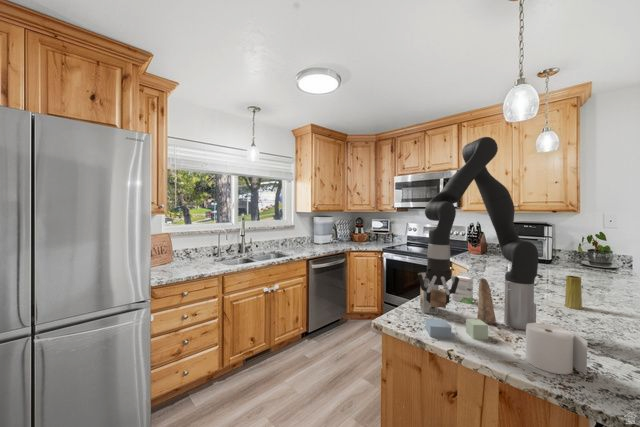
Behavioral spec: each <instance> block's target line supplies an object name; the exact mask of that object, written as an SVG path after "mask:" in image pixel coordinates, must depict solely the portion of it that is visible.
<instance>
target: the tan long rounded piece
mask: <svg viewBox="0 0 640 427" xmlns="http://www.w3.org/2000/svg"><path fill="white" fill-rule="evenodd" d="M477 303H478V305H477V309H478V310H477V315H476V316H477V317H476V318H477V319H480V320H482V321H483V322H484V323H486V324H487V325H495V324H497V318H496V313H495V310H494V304H493V299H492V294H491V288H490V285H489V283H488V280H487V279H485V278H483V277H482V278H480V280H479V283H478V302H477Z"/></svg>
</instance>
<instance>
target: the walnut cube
mask: <svg viewBox="0 0 640 427" xmlns="http://www.w3.org/2000/svg"><path fill="white" fill-rule="evenodd" d="M430 293H431V297H430V306H432V307H438V308H441V309H442V308H443V309H447V305H446V293H445V290H444V289H439V288H438V289H431V291H430Z"/></svg>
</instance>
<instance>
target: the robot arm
mask: <svg viewBox="0 0 640 427" xmlns="http://www.w3.org/2000/svg"><path fill="white" fill-rule="evenodd" d="M498 148H499V147H498V144H497V142H496V140H495V139H494V138H492V137H489V136H483V137H480V138H478V139H475V140H472V141H471V142H469V143H467V144H466V145H464V146H463V147H462V151H461V153H462V154H461V155H462V159H463V162H464V163H465V164H463V166H462V167H461V168H459V169H458V170H457V171H456V172H455V173H454V174H453V175H451V177H450V178H449V179H448V181H447V182H446V184H445V185H444V186H443V188H442V190H441V191H440V192H438V193H437V194H435V195H434V197H433V198H432V199H430V200H429V201H428V202H427V204H426V205H425V208H424V215H425V217H426V218H427V219H428V220H430V221H433V222H434V221H436V222H437V226H436V227H431V228H430V229H429V231H428V244H427V246H428V247H427V254H426V255H427V258H426V259H427V261H426V263H427V264H426V271H425V272H426V273H422V274H421V272H419V273H417V275H418V279H419V284H420V286H421V287H420V288H421V289H422V290H423V291H426V300H427V301H428V303H430V297H431V293H430V291H431V289H432V287H433V285H438V286H443V290H445V293H446V306H448V304H450V295H452V293H453V294H454V293H455V292H456V289H457V285H458V282H459V278H458V277H457V276H458V275H457V276H455V275H452V274H451V271H450V270H451V247H450V246H451V244H450V240H451V236H450V235H451V231H452V229H453V225H454V222H455V220H456V219H455V218H456V217H457V216H456V215H457V211H456V206H455V205H454V204H456V203H458V202H459V201H460V200H461V199H462V197H463V195H465V192H466V191H467V189H469V187H470V185H471V184H472V183H473V181H474V182H475V185H476V187H477V189H478V191H479V194H480V197H481V199H482V202H483V204H484V207H485V209H486V212H487V213H488V216H489V220H490V222H491V225H492V226H493V229H494V231H495V233H496V238H497V240H498V241H497V242H498V245H499V249H500V251H501V254H502V256H503V258H504V259H505V260H507V261H508V262H511V268H510V270H509V271H507V272H505V273H504V274H505V275H504V312H503V313H504V314H503V315H504V316H503V317H504V318H503V319H504V321H503V322H504V324H505V325H506V326H508V327H510V328H513V329H516V330H522V331H526V325H527V324H528V323H537V304H536V303H535V279H536V278H537V275H538V270H539V268H538V267H539V251H538V248H537V246H536V245H535V244H534V243H533V242H531V241H528V240H522V239H520V236H519V235H518V232H517V230H516V227H515V222H514V221H515V212H516V211H515V204H514V201H513V198H512V196H511V194H510V192H509V190H508V188H507V187H506V186H505V185H504V184H503V183H501V182H500V181H499V180H497V179H496V178H495V177H494V176H492V175H491V173H490V172H489V170H488V168H487V165H488V164H489V163H490V162H492V160H493V159H494V158H495V157H496V155H497V153H498ZM425 276H427V278H428V279H429V280H430V281H429V283H428V286H427V287H425V286H424V282H423V279H425ZM449 280H451V287H450V288H449V286H448V284H447V283H448V282H449ZM452 282H453V283H452Z"/></svg>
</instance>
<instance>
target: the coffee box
mask: <svg viewBox="0 0 640 427" xmlns="http://www.w3.org/2000/svg"><path fill="white" fill-rule="evenodd" d="M420 273H421V274H422V273H426V271H425V272H424V271H423V272H422V271H420ZM429 281H430V280H429V279H428V278H427V276H425V279H423V282H424V286H425V287H427V286H428V283H429ZM419 287H420V300H419V301H420V304H419V305H420V308H421V310H422V313H423V314H434V315H438V314H439V307H432V306H430V303H428V301H427V300H426V291H423V290H422V289H421V285H420V286H419ZM432 289H438V290H439V285H433V287H432Z"/></svg>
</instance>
